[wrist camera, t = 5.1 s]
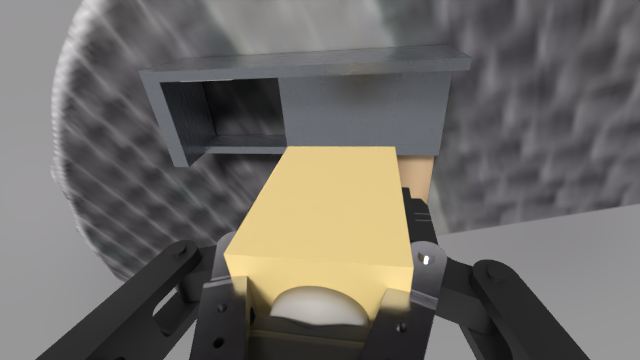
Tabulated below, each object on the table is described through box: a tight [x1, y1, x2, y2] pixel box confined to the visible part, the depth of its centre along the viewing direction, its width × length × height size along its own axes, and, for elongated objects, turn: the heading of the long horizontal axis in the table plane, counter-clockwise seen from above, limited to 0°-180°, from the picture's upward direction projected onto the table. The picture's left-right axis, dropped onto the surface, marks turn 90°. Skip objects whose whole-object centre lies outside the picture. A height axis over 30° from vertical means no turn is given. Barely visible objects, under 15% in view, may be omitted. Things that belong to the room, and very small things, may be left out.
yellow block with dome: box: [224, 146, 414, 330], centre depth 11 cm, size 5×5×8 cm
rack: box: [139, 44, 472, 167], centre depth 25 cm, size 24×9×7 cm, turn 94°
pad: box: [396, 155, 434, 204], centre depth 30 cm, size 8×8×2 cm
